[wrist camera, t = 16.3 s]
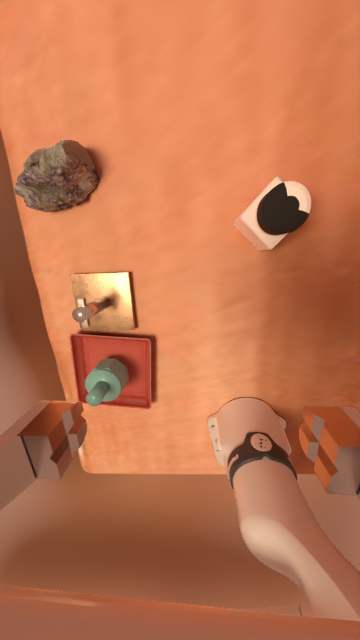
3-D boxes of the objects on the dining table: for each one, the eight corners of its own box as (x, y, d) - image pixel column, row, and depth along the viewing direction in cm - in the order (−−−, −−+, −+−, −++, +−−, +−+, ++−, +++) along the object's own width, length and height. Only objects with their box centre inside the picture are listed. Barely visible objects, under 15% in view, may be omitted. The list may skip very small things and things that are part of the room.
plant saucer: (76, 328, 46) (67, 333, 43) (153, 333, 45) (150, 339, 42) (85, 394, 52) (77, 403, 49) (154, 400, 51) (151, 409, 48)
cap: (125, 358, 44) (108, 382, 36) (130, 386, 46) (116, 415, 38) (92, 359, 45) (69, 383, 36) (99, 387, 47) (79, 416, 39)
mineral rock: (35, 212, 39) (-16, 198, 29) (28, 144, 36) (-33, 103, 26) (101, 219, 38) (69, 207, 29) (100, 151, 35) (64, 112, 26)
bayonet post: (136, 327, 45) (119, 348, 35) (84, 328, 46) (53, 348, 36) (130, 271, 41) (109, 277, 31) (74, 273, 42) (36, 279, 32)
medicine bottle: (258, 251, 38) (284, 249, 27) (231, 223, 37) (247, 209, 26) (288, 220, 36) (331, 203, 25) (261, 190, 35) (293, 158, 24)
